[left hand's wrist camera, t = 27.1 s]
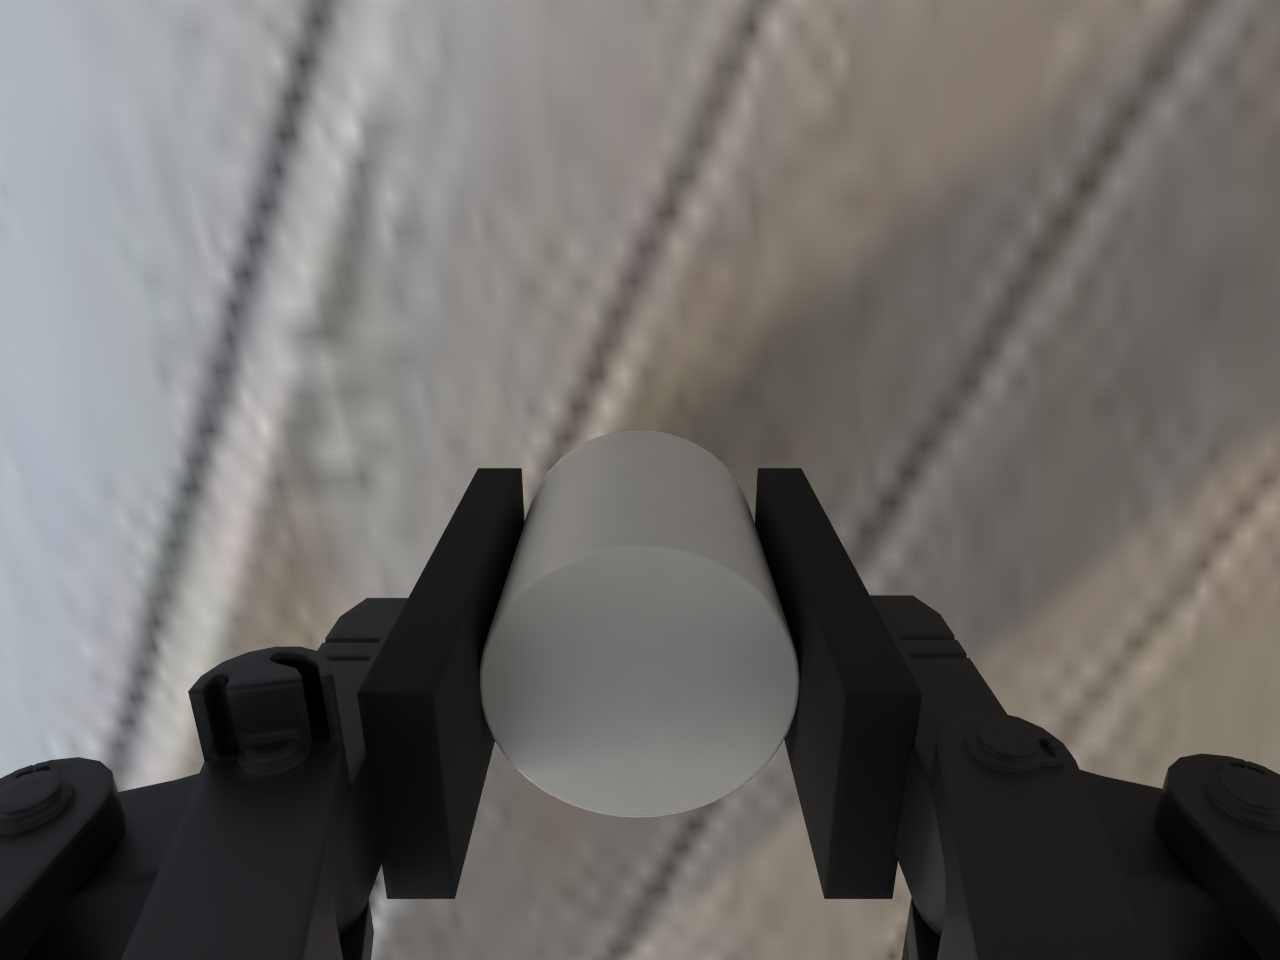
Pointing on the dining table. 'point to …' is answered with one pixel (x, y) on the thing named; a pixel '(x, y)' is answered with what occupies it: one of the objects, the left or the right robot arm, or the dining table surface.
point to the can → (639, 633)
